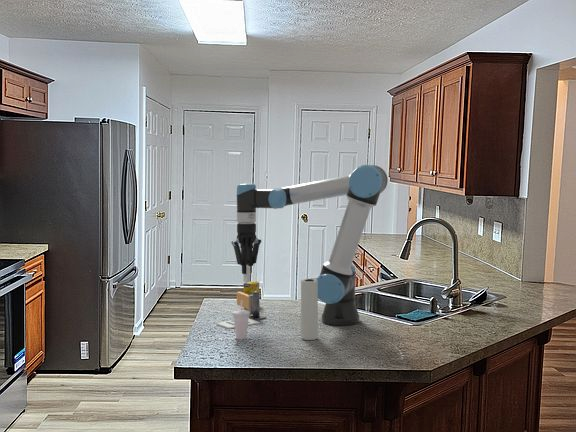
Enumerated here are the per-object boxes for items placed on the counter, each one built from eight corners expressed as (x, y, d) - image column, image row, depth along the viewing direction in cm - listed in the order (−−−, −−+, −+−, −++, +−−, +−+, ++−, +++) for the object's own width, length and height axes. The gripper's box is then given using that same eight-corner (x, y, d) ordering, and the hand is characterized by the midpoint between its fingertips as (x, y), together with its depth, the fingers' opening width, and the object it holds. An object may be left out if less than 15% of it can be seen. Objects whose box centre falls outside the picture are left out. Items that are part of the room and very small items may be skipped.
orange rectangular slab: (256, 314, 273) (256, 295, 273) (251, 314, 272) (250, 295, 271) (241, 307, 287) (241, 289, 286) (236, 307, 286) (235, 289, 285)
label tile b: (241, 326, 256) (241, 324, 256) (228, 329, 253) (228, 327, 253) (229, 322, 263) (229, 320, 263) (216, 324, 260) (216, 322, 260)
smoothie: (252, 336, 241) (252, 299, 240) (246, 341, 235) (245, 302, 234) (236, 335, 243) (236, 297, 242) (229, 339, 237) (229, 301, 236)
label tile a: (259, 323, 261) (259, 321, 261) (247, 325, 258) (247, 323, 258) (247, 319, 268) (247, 317, 268) (234, 321, 265) (234, 319, 265)
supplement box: (256, 308, 290) (256, 283, 289) (243, 307, 291) (243, 283, 290) (259, 305, 295) (259, 281, 295) (246, 305, 297) (246, 281, 296)
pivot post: (266, 318, 270) (266, 292, 269) (254, 320, 266) (254, 293, 265) (258, 315, 275) (257, 289, 274) (246, 317, 271) (245, 291, 270)
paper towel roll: (312, 341, 234) (312, 282, 233) (297, 339, 237) (297, 280, 236) (322, 337, 240) (322, 279, 239) (307, 334, 244) (307, 277, 242)
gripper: (237, 224, 253) (238, 285, 255) (265, 222, 261) (265, 281, 263) (227, 223, 259) (227, 282, 261) (254, 221, 267) (255, 279, 269)
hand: (246, 281), depth 262 cm, fingers closed
